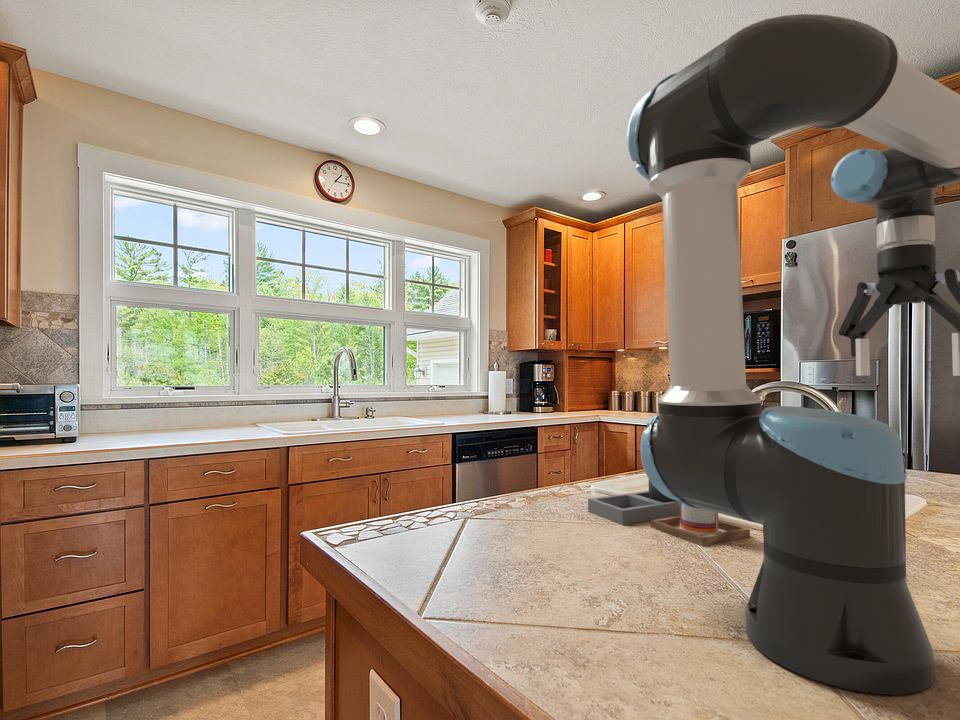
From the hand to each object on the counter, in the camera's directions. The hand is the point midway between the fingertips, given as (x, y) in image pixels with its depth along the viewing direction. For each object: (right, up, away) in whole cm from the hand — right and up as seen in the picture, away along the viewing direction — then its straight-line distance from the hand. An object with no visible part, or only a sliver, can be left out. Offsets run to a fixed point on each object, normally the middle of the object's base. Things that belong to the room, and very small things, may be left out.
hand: (908, 376), depth 85 cm
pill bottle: (-33, -27, +4) cm, 43 cm away
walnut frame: (-33, -27, +4) cm, 43 cm away
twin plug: (-33, -27, +19) cm, 47 cm away
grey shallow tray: (-38, -27, +17) cm, 50 cm away
